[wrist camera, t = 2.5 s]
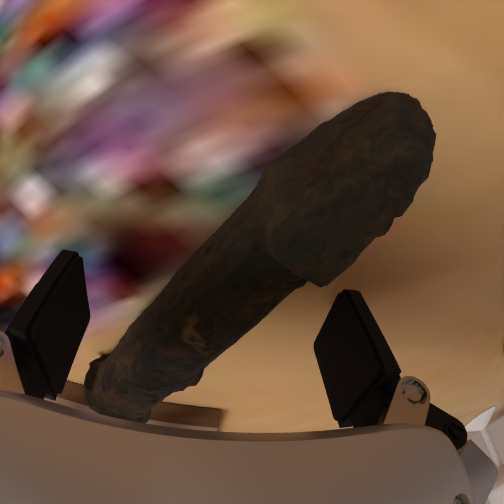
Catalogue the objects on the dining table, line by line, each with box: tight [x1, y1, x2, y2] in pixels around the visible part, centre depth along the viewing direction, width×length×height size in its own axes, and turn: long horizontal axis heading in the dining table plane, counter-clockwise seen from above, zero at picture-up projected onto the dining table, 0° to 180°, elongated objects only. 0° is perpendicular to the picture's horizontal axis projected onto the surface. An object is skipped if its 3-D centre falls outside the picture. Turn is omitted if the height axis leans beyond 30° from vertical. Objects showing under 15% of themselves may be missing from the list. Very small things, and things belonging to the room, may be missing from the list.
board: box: [44, 381, 218, 431], centre depth 18 cm, size 19×10×2 cm, turn 78°
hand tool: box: [83, 92, 436, 423], centre depth 11 cm, size 19×4×5 cm, turn 137°
